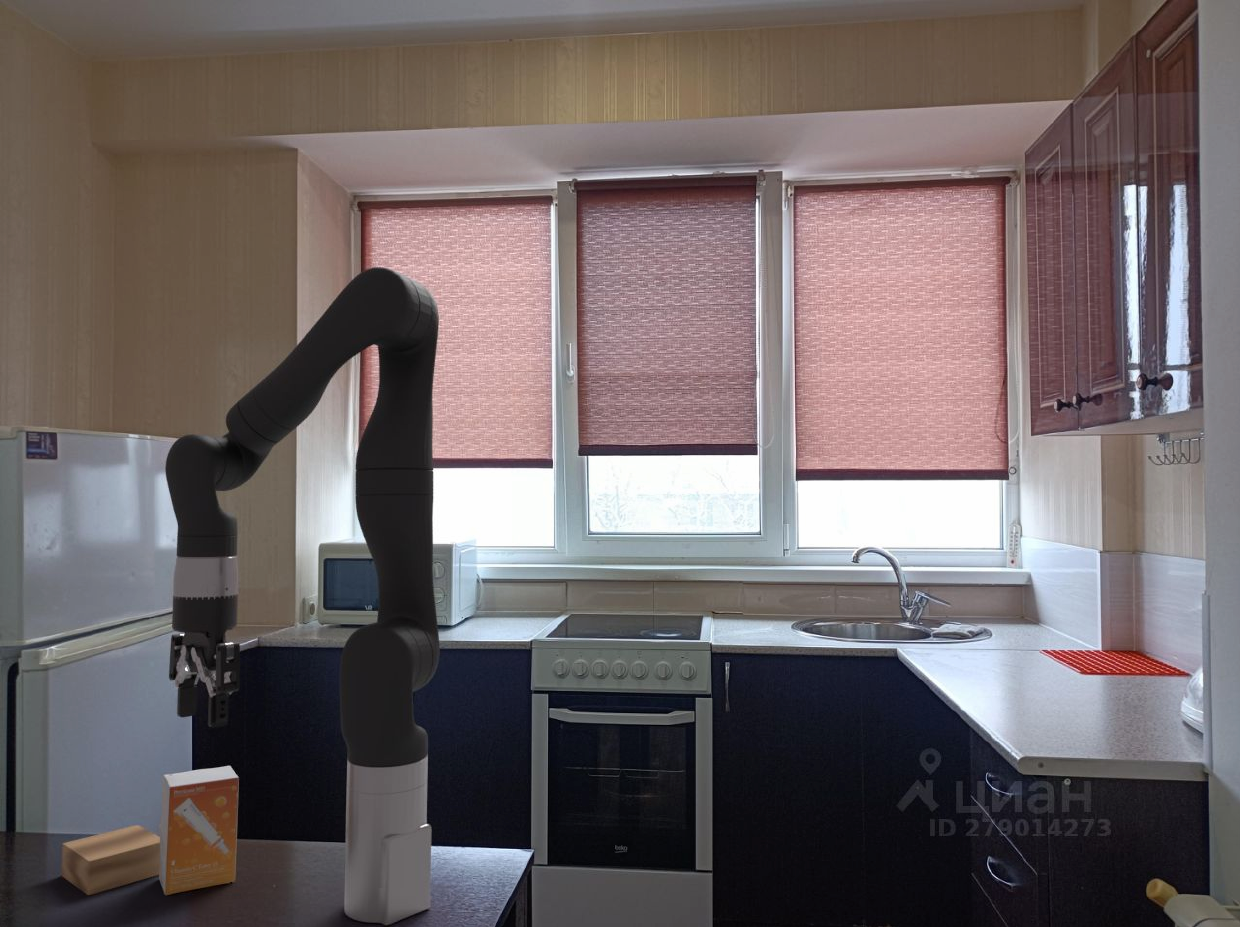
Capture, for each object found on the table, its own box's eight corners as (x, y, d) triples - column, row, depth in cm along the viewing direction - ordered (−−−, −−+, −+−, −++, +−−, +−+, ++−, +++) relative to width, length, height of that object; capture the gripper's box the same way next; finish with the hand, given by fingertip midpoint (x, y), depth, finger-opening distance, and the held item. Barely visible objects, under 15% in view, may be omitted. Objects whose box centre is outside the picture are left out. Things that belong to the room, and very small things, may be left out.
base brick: (165, 872, 114) (166, 840, 114) (88, 895, 107) (89, 861, 108) (136, 855, 120) (137, 824, 120) (61, 875, 113) (62, 843, 113)
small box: (164, 897, 107) (168, 786, 108) (158, 879, 112) (161, 773, 113) (236, 882, 111) (239, 776, 112) (227, 865, 117) (230, 764, 117)
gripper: (262, 593, 112) (258, 724, 111) (209, 587, 121) (205, 708, 120) (202, 597, 106) (197, 736, 105) (151, 590, 115) (147, 717, 115)
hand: (201, 721), depth 113 cm, fingers open, 8 cm apart
